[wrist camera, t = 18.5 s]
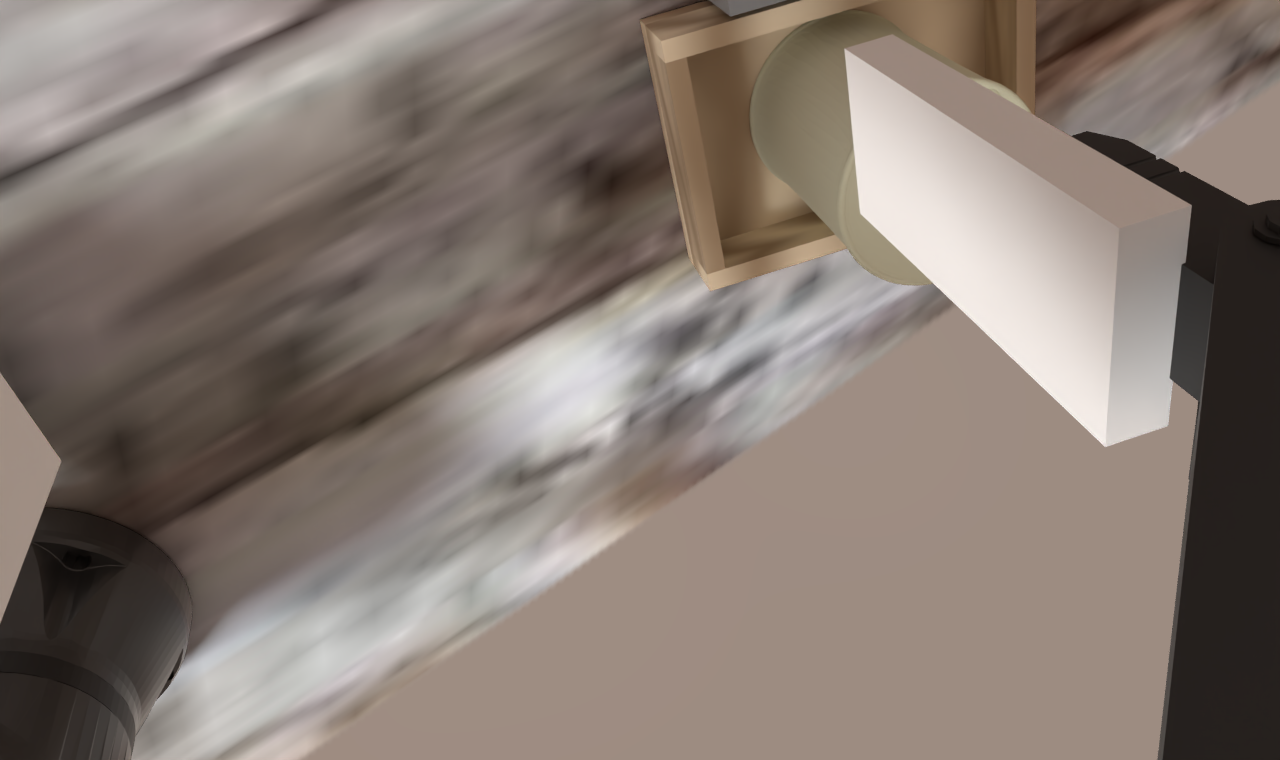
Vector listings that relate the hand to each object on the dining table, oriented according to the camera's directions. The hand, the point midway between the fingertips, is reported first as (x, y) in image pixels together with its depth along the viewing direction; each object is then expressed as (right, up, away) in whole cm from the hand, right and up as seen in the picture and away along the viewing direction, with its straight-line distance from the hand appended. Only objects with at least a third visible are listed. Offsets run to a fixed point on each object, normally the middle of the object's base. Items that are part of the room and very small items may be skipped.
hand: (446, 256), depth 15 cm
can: (+13, +12, +37) cm, 41 cm away
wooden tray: (+13, +13, +38) cm, 42 cm away
